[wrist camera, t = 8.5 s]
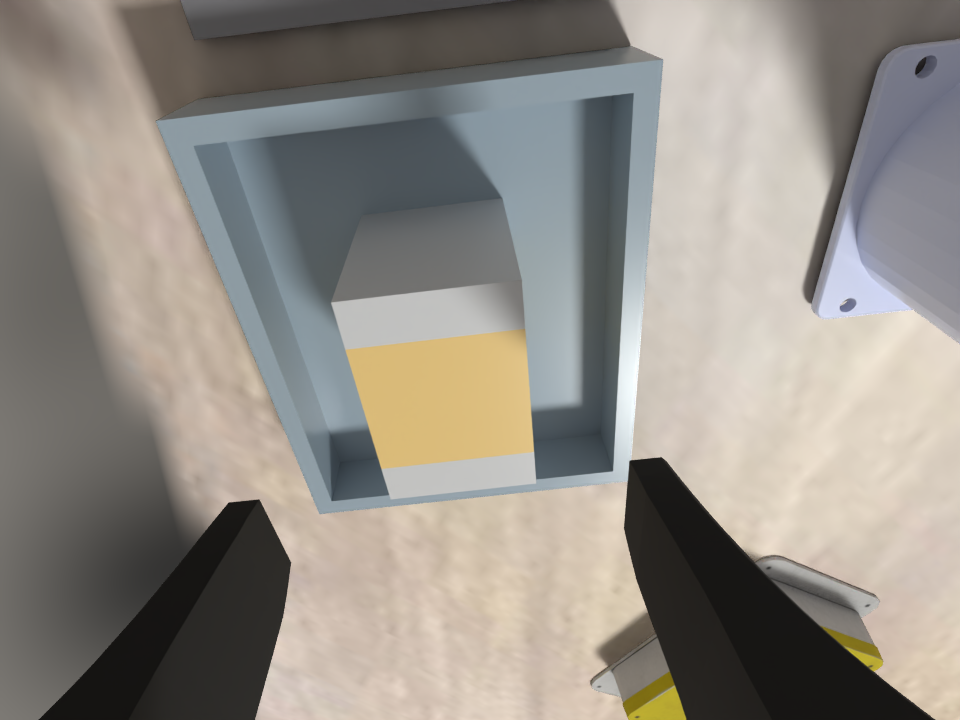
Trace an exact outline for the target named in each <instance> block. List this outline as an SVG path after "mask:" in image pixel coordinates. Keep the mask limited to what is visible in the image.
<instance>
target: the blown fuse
mask: <svg viewBox="0 0 960 720" xmlns="http://www.w3.org/2000/svg"><path fill="white" fill-rule="evenodd" d="M331 304H332V307H333V311H334V314H335V317H336V321H337V324H338V327H339V331H340V334H341V337H342V340H343V344H344V347H345V350H346V354H347V357H348V360H349V364H350V367H351V370H352V373H353V377H354V380H355V383H356V387H357V390H358V393H359V397H360V400H361V403H362V406H363V410H364V413H365V416H366V420H367V423H368V426H369V430H370V433H371V436H372V439H373V443H374V446H375V449H376V453H377V456H378V459H379V463H380V466H381V469H382V472H383V476H384V479H385V482H386V486H387V489H388V492H389V496H390V499H400V498H409V497H418V496H427V495H436V494H445V493H454V492H463V491H473V490H482V489H491V488H500V487H509V486H518V485H527V484H536V472H535V458H534V444H533V430H532V416H531V401H530V387H529V373H528V359H527V345H526V331H525V317H524V303H523V289H522V278H521V274H520V270H519V266H518V261H517V257H516V253H515V249H514V245H513V240H512V236H511V232H510V228H509V224H508V219H507V215H506V211H505V207H504V203H503V198H499V199H491V200H483V201H475V202H466V203H458V204H450V205H442V206H434V207H425V208H417V209H409V210H401V211H393V212H385V213H376V214H368V215H362V216H361V218H360V221H359V224H358V227H357V230H356V233H355V236H354V238H353V241H352V244H351V247H350V250H349V253H348V255H347V258H346V261H345V264H344V267H343V270H342V273H341V275H340V278H339V281H338V284H337V287H336V290H335V293H334V295H333V298H332V301H331Z"/></svg>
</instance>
